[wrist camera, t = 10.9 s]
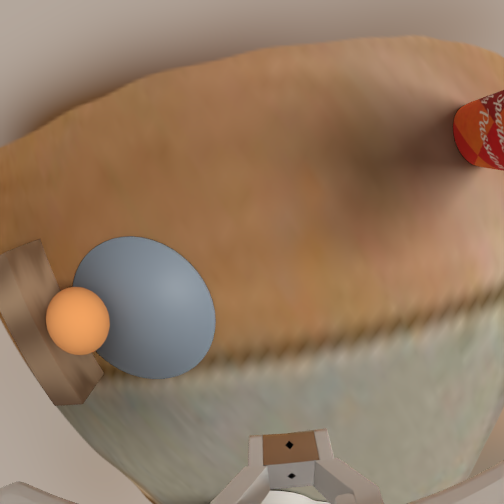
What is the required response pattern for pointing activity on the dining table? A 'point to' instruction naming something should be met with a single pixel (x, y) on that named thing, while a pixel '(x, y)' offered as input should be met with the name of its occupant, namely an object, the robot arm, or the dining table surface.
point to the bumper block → (41, 326)
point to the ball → (77, 320)
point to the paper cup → (481, 131)
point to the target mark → (149, 306)
